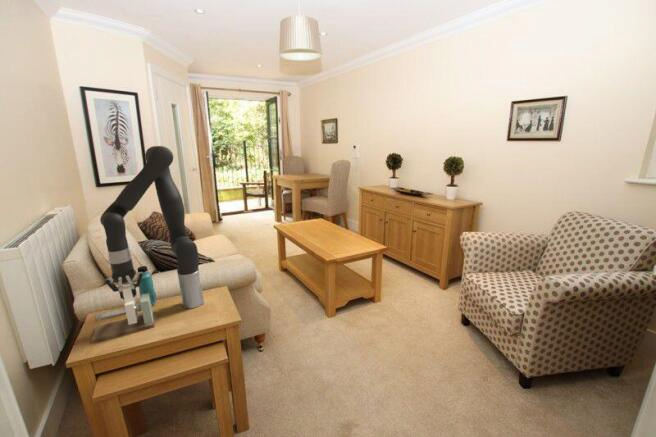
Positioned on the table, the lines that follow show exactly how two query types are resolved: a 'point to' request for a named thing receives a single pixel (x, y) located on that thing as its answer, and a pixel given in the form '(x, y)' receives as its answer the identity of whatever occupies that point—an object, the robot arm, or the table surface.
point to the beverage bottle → (147, 284)
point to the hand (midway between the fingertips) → (129, 297)
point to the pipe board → (120, 329)
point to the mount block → (146, 308)
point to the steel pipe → (115, 313)
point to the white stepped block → (130, 305)
